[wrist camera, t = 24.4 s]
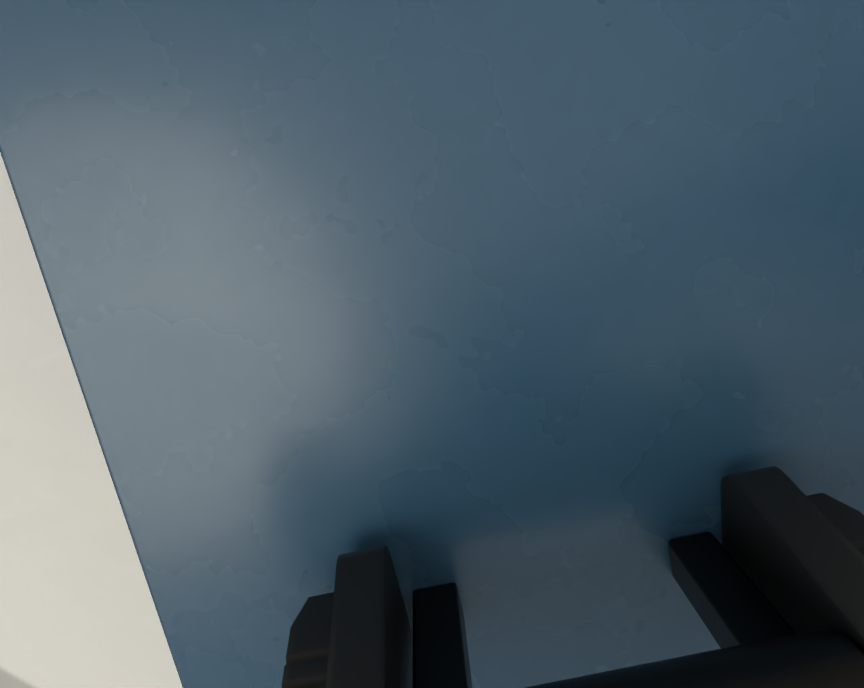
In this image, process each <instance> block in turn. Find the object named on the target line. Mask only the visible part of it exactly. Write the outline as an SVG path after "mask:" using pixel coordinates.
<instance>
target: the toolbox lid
mask: <svg viewBox="0 0 864 688" xmlns="http://www.w3.org/2000/svg"><path fill="white" fill-rule="evenodd" d="M0 152H1V155H2V158H3V161H4V164H5V167H6V169H7V172H8V175H9V178H10V181H11V184H12V187H13V190H14V193H15V196H16V199H17V202H18V205H19V208H20V211H21V214H22V216H23V219H24V222H25V225H26V228H27V231H28V234H29V237H30V240H31V243H32V246H33V249H34V252H35V255H36V258H37V260H38V263H39V266H40V269H41V272H42V275H43V278H44V281H45V284H46V287H47V290H48V293H49V296H50V299H51V302H52V304H53V307H54V310H55V313H56V316H57V319H58V322H59V325H60V328H61V331H62V334H63V337H64V340H65V343H66V346H67V349H68V351H69V354H70V357H71V360H72V363H73V366H74V369H75V372H76V375H77V378H78V381H79V384H80V387H81V390H82V393H83V395H84V398H85V401H86V404H87V407H88V410H89V413H90V416H91V419H92V422H93V425H94V428H95V431H96V434H97V437H98V439H99V442H100V445H101V448H102V451H103V454H104V457H105V460H106V463H107V466H108V469H109V472H110V475H111V478H112V481H113V484H114V486H115V489H116V492H117V495H118V498H119V501H120V504H121V507H122V510H123V513H124V516H125V519H126V522H127V525H128V528H129V530H130V533H131V536H132V539H133V542H134V545H135V548H136V551H137V554H138V557H139V560H140V563H141V566H142V569H143V572H144V575H145V577H146V580H147V583H148V586H149V589H150V592H151V595H152V598H153V601H154V604H155V607H156V610H157V613H158V616H159V619H160V621H161V624H162V627H163V630H164V633H165V636H166V639H167V642H168V645H169V648H170V651H171V654H172V657H173V660H174V663H175V665H176V668H177V671H178V674H179V677H180V680H181V683H182V686H183V688H282V686H281V685H282V679H283V673H284V666H285V665H286V653H287V647H288V641H289V634H290V628H291V626H292V624H293V622H294V621H295V619H296V617H297V616H298V614H299V612H300V611H301V609H302V607H303V606H304V604H305V602H306V601H307V599H308V597H312V596H317V595H322V594H327V593H331V592H334V586H335V575H336V563H337V558H338V556H339V555H340V554H345V553H350V552H355V551H360V550H364V549H369V548H374V547H379V546H384V545H386V546H387V547H388V550H389V552H390V555H391V559H392V562H393V566H394V569H395V573H396V576H397V580H398V583H399V587H400V590H401V594H402V597H403V601H404V605H405V608H406V612H407V615H408V619H409V623H410V627H411V632H412V637H413V688H864V651H863V650H862V648H861V647H860V646H859V645H858V644H856V643H855V642H854V641H853V640H852V639H851V638H850V637H848V636H847V635H845V634H844V633H842V632H840V631H837V630H833V629H828V628H822V629H817V630H812V631H807V632H802V633H796V631H795V630H794V629H793V628H792V627H791V625H790V624H789V623H788V622H787V621H786V620H785V618H784V617H783V616H782V615H781V614H780V613H779V611H778V610H777V609H776V608H775V607H774V606H773V604H772V603H771V602H770V601H769V600H768V599H767V597H766V596H765V595H764V594H763V593H762V592H761V590H760V589H759V588H758V587H757V586H756V585H755V583H754V582H753V581H752V580H751V579H750V577H749V576H748V575H747V574H746V573H745V572H744V570H743V569H742V568H741V567H740V566H739V565H738V563H737V562H736V561H735V560H734V559H733V558H732V556H731V555H730V554H729V553H728V552H727V551H726V549H725V548H724V547H723V546H722V521H721V495H720V485H721V480H722V478H723V477H724V476H727V475H732V474H737V473H742V472H747V471H751V470H756V469H761V468H766V467H771V466H775V467H778V468H779V469H781V470H782V471H783V472H784V473H785V474H786V475H787V476H788V477H789V478H790V479H791V480H792V481H793V482H794V483H795V485H796V486H797V487H798V488H799V489H800V490H801V491H802V492H803V493H804V494H805V495H806V496H808V495H813V494H818V493H825V494H827V495H829V496H831V497H832V498H834V499H836V500H838V501H840V502H842V503H844V504H846V505H848V506H850V507H852V508H854V509H856V510H858V511H860V512H861V513H862V514H863V515H864V0H0Z"/></svg>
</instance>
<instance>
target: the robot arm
mask: <svg viewBox="0 0 864 688" xmlns="http://www.w3.org/2000/svg"><path fill="white" fill-rule="evenodd" d="M720 495H721V521H722V546H723V547H724V548H725V549H726V551H727V552H728V553H729V554H730V555H731V556H732V558H733V559H734V560H735V561H736V562H737V563H738V565H739V566H740V567H741V568H742V569H743V570H744V572H745V573H746V574H747V575H748V576H749V577H750V579H751V580H752V581H753V582H754V583H755V585H756V586H757V587H758V588H759V589H760V590H761V592H762V593H763V594H764V595H765V596H766V597H767V599H768V600H769V601H770V602H771V603H772V604H773V606H774V607H775V608H776V609H777V610H778V611H779V613H780V614H781V615H782V616H783V617H784V618H785V620H786V621H787V622H788V623H789V624H790V625H791V627H792V628H793V629H794V630H795V631H796V633H802V632H807V631H812V630H817V629H822V628H828V629H833V630H837V631H840V632H842V633H844V634H845V635H847V636H848V637H850V638H851V639H852V640H853V641H854V642H855V643H856V644H858V645H859V646H860V647H861V648H862V650H863V651H864V515H863V514H862V513H861V512H860V511H858V510H856V509H854V508H852V507H850V506H848V505H846V504H844V503H842V502H840V501H838V500H836V499H834V498H832V497H831V496H829V495H827V494H825V493H818V494H813V495H808V496H806V495H805V494H804V493H803V492H802V491H801V490H800V489H799V488H798V487H797V486H796V485H795V483H794V482H793V481H792V480H791V479H790V478H789V477H788V476H787V475H786V474H785V473H784V472H783V471H782V470H781V469H779V468H778V467H775V466H771V467H766V468H761V469H756V470H751V471H747V472H742V473H737V474H732V475H727V476H724V477H723V478H722V480H721V485H720ZM281 686H282V688H413V637H412V632H411V627H410V623H409V619H408V615H407V612H406V608H405V605H404V601H403V597H402V594H401V590H400V587H399V583H398V580H397V576H396V573H395V569H394V566H393V562H392V559H391V555H390V552H389V550H388V547H387V546H386V545H384V546H379V547H374V548H369V549H364V550H360V551H355V552H350V553H345V554H340V555H339V556H338V558H337V563H336V575H335V586H334V592H331V593H327V594H322V595H317V596H312V597H308V599H307V601H306V602H305V604H304V606H303V607H302V609H301V611H300V612H299V614H298V616H297V617H296V619H295V621H294V622H293V624H292V626H291V628H290V634H289V641H288V647H287V653H286V665H285V666H284V673H283V679H282V685H281Z"/></svg>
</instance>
